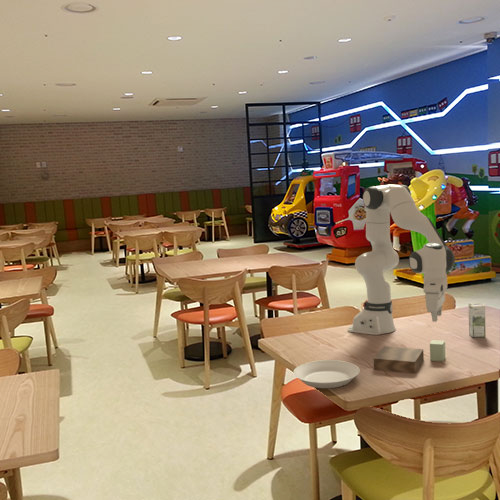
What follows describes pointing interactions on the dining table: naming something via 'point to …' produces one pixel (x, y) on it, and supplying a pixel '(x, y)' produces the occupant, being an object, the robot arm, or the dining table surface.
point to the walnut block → (398, 359)
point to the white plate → (326, 373)
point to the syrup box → (477, 320)
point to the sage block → (437, 350)
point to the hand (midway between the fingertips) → (437, 318)
